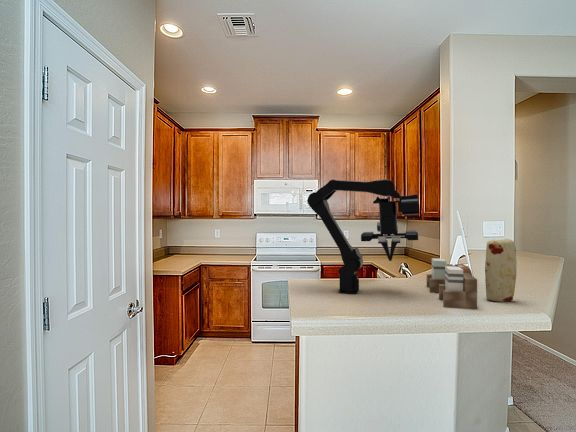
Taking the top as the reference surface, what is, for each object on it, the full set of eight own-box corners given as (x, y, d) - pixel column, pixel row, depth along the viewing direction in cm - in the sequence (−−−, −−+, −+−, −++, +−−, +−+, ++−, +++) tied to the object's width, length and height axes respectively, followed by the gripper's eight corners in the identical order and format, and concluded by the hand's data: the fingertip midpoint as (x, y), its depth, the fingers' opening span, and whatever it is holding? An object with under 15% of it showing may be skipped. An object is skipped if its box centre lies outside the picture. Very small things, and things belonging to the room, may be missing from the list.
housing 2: (444, 308, 99) (444, 278, 99) (438, 299, 108) (438, 272, 108) (477, 310, 97) (477, 279, 96) (468, 301, 106) (468, 273, 106)
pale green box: (433, 291, 118) (433, 260, 117) (431, 287, 123) (431, 258, 123) (446, 292, 116) (446, 261, 116) (443, 288, 122) (443, 258, 122)
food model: (494, 304, 102) (494, 239, 102) (478, 298, 109) (479, 238, 108) (522, 303, 103) (522, 239, 103) (505, 297, 110) (505, 237, 110)
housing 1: (430, 293, 116) (430, 267, 116) (426, 287, 126) (426, 263, 125) (457, 295, 114) (457, 268, 114) (452, 288, 123) (452, 264, 123)
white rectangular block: (448, 305, 100) (448, 269, 100) (444, 300, 106) (444, 266, 106) (463, 306, 99) (463, 270, 99) (459, 301, 105) (459, 266, 105)
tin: (474, 292, 117) (474, 268, 117) (464, 292, 118) (464, 268, 118) (460, 283, 132) (461, 262, 132) (452, 283, 133) (452, 262, 132)
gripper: (416, 213, 119) (418, 256, 120) (363, 216, 126) (365, 256, 126) (417, 215, 109) (419, 262, 109) (359, 217, 115) (362, 262, 116)
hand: (390, 260), depth 115 cm, fingers closed
